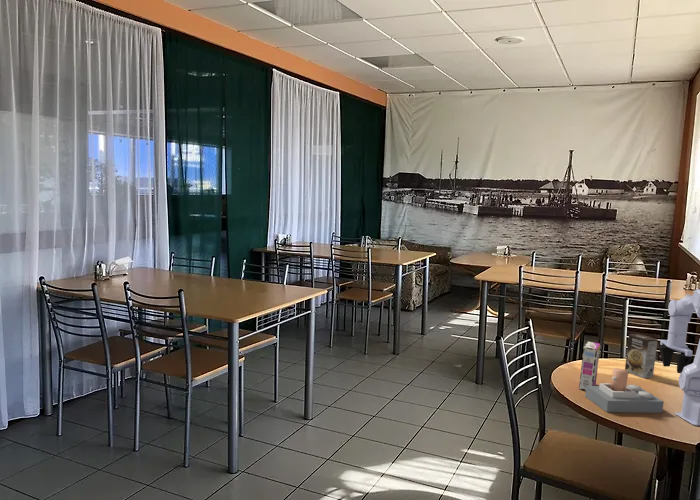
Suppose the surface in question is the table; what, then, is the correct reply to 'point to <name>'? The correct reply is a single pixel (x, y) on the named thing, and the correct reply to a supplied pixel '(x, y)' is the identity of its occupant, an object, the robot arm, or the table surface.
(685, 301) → the robot arm
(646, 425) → the table surface
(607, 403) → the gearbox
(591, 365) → the candy bar box
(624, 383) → the peach tapered capsule
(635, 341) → the coffee box
